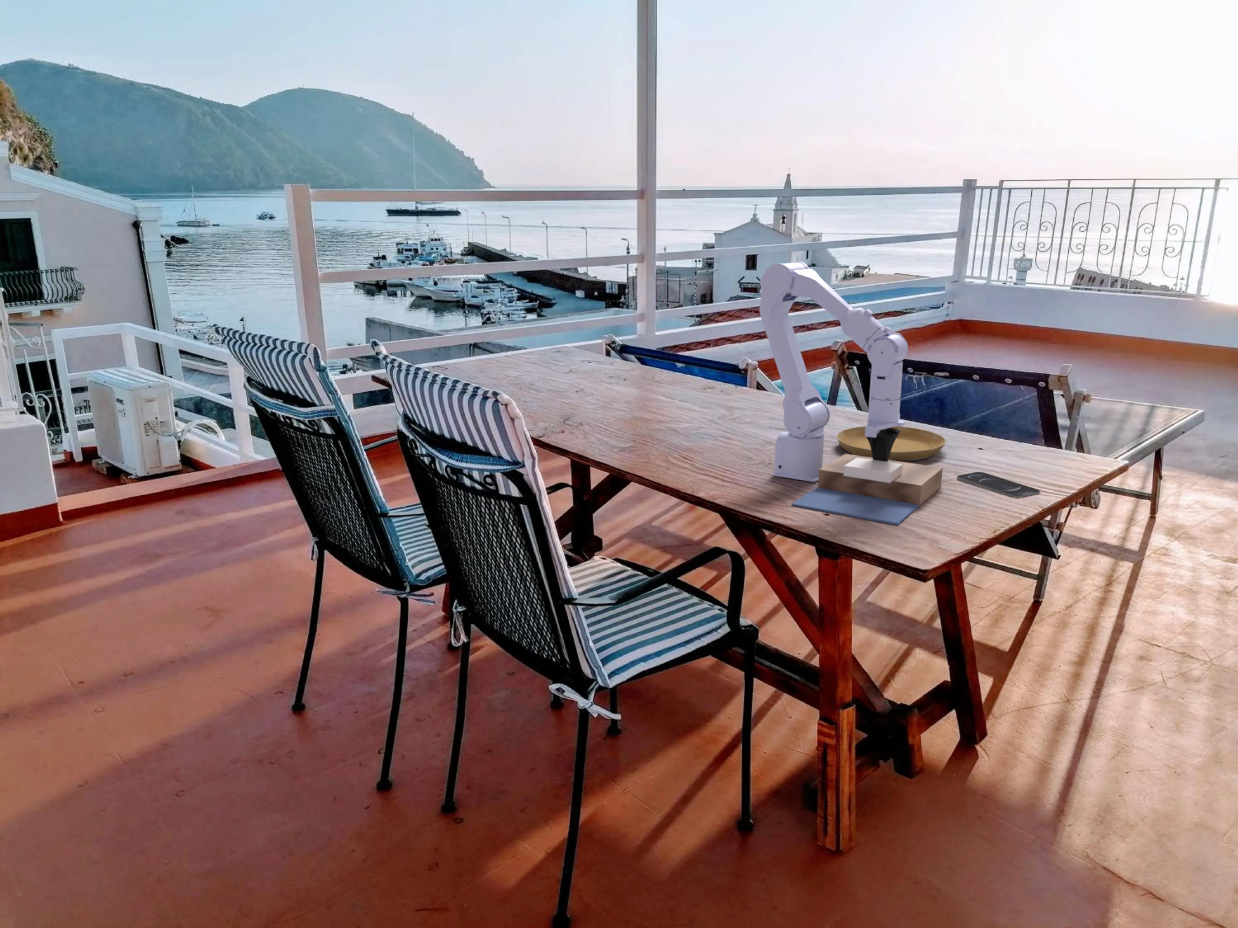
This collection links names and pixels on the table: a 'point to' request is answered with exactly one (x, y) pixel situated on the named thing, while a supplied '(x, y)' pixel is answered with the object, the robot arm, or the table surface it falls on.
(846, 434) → the plant saucer
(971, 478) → the smartphone
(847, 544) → the table surface
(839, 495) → the mat
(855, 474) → the tile
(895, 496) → the stand
